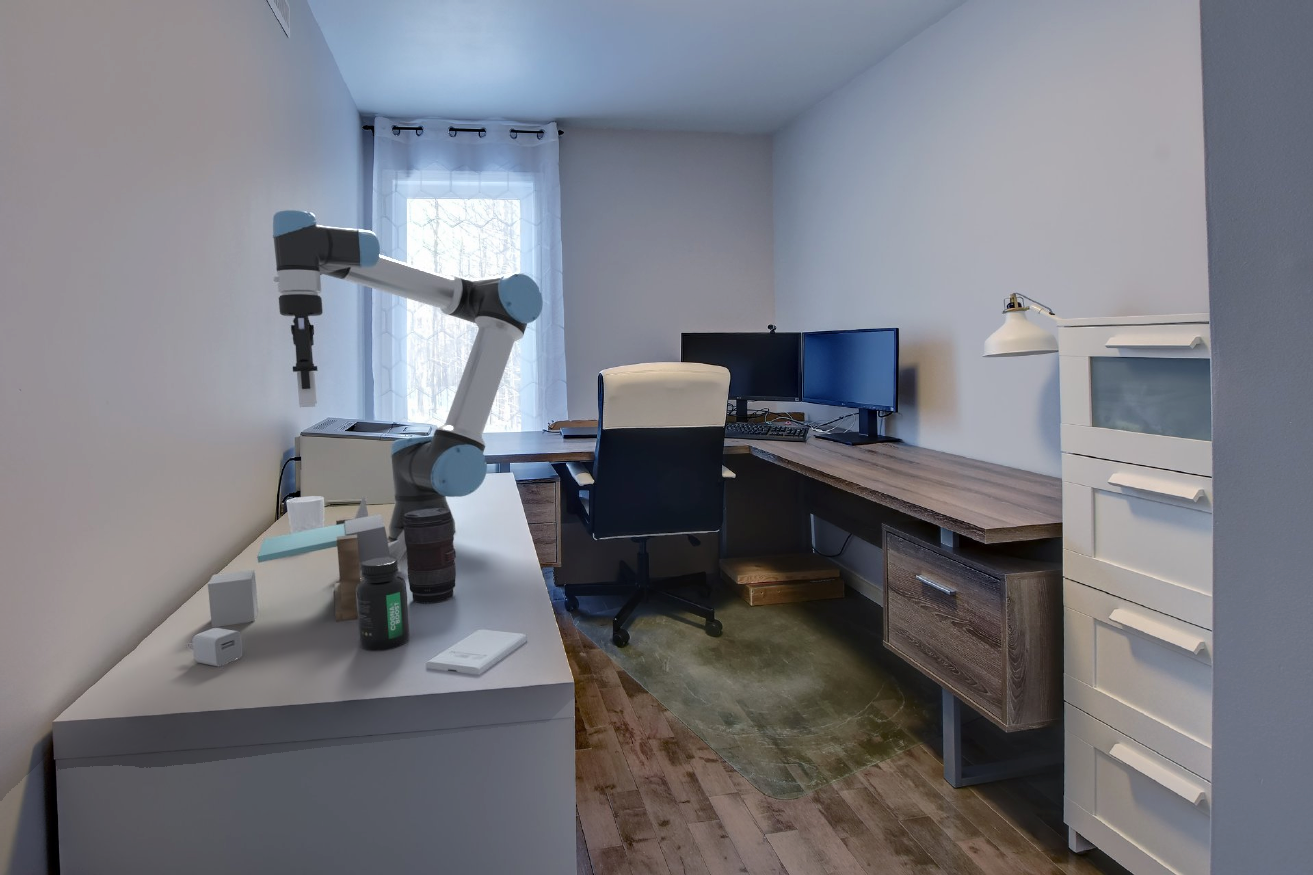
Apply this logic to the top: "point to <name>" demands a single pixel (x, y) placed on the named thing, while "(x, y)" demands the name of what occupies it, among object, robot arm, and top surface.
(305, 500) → the white cup
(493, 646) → the external hard drive
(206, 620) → the top surface
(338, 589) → the stand
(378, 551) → the trapdoor
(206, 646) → the usb wall charger
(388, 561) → the supplement bottle
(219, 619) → the plain grey cube
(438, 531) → the camera lens
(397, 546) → the crystal
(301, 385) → the robot arm
